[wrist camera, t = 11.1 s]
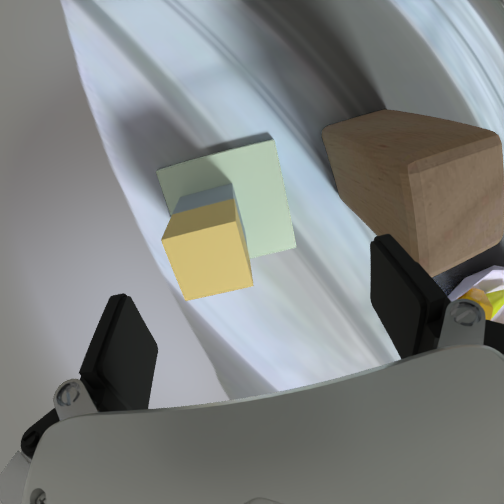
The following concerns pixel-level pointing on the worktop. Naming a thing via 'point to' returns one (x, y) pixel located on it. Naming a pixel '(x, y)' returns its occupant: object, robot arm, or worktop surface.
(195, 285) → the ochre brick
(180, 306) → the worktop surface
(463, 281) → the fruit bowl
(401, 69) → the worktop surface
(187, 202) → the slate brick
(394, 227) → the block
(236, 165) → the plate
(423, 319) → the robot arm
